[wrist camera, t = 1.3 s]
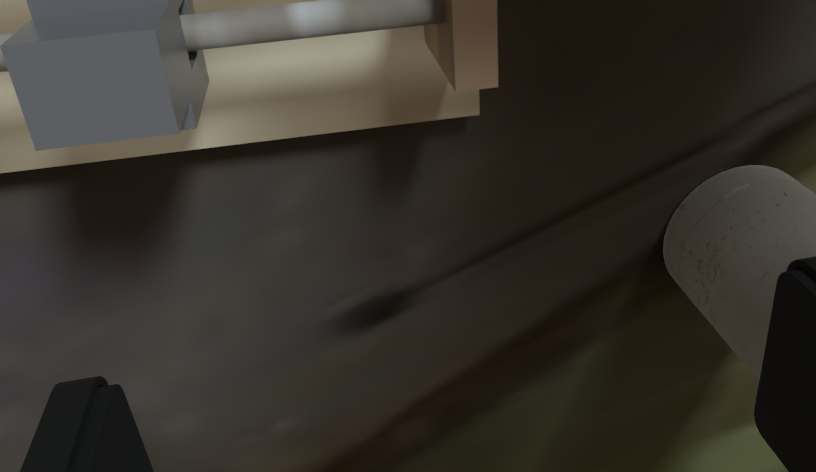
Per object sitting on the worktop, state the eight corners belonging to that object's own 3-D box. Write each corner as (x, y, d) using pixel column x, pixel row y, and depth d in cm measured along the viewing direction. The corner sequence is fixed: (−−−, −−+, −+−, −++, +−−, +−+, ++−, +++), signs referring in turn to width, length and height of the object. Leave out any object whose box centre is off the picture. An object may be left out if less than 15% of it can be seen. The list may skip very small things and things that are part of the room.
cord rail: (-513, -113, 26) (-826, -83, 19) (463, -196, 29) (524, -198, 22) (-320, 199, 32) (-499, 315, 25) (472, 103, 35) (523, 181, 28)
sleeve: (63, -45, 26) (-14, 7, 19) (180, -56, 27) (145, -10, 20) (102, 93, 29) (46, 183, 22) (209, 81, 29) (187, 165, 22)
